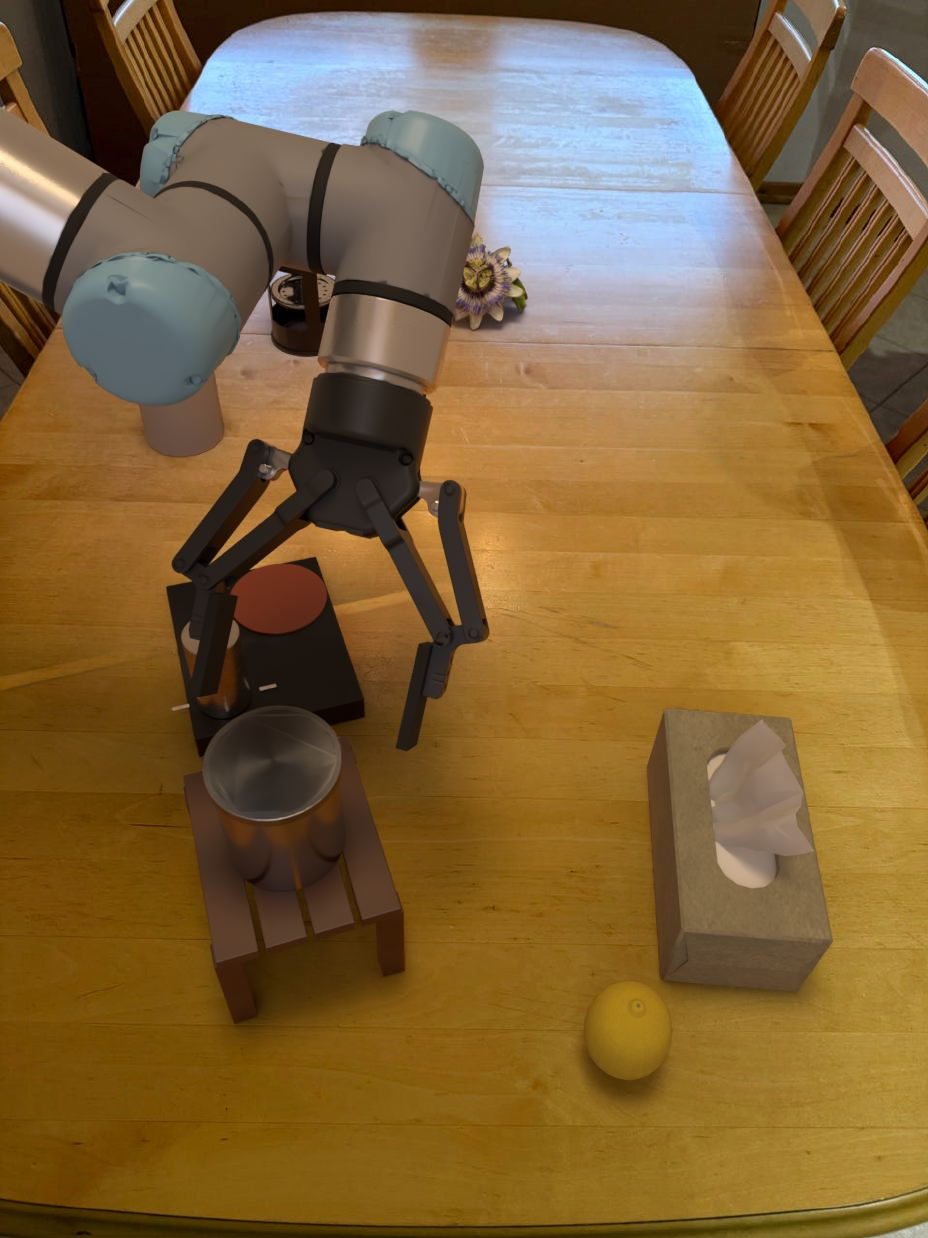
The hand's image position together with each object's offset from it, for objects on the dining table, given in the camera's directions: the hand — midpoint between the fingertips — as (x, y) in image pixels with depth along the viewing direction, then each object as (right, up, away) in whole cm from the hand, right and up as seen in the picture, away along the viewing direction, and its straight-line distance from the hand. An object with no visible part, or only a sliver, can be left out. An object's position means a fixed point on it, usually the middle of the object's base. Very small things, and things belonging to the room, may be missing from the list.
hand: (302, 720), depth 62 cm
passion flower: (+12, +47, +68) cm, 83 cm away
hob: (-8, +3, +27) cm, 28 cm away
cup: (-21, +27, +48) cm, 59 cm away
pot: (-2, -8, +3) cm, 9 cm away
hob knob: (-10, 0, +20) cm, 22 cm away
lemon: (+20, -23, +5) cm, 31 cm away
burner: (-7, +8, +28) cm, 30 cm away
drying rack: (-2, -15, +11) cm, 18 cm away
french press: (-9, +42, +63) cm, 76 cm away
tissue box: (+29, -13, +14) cm, 35 cm away
